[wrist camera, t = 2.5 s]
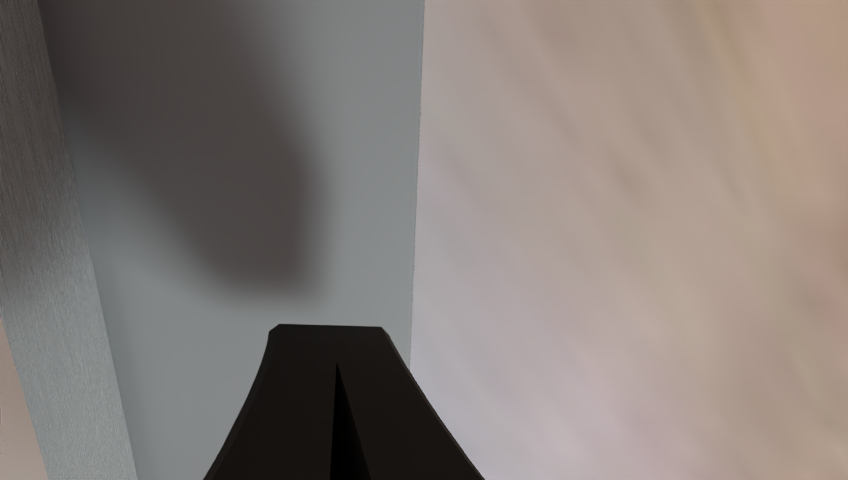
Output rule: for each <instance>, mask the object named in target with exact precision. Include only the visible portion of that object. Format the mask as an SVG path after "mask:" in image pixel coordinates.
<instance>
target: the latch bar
mask: <svg viewBox="0 0 848 480" xmlns="http://www.w3.org/2000/svg"><path fill="white" fill-rule="evenodd" d="M0 480H138V477H137V473H136V468H135V463H134V458H133V454H132V449H131V444H130V439H129V434H128V430H127V425H126V420H125V415H124V410H123V406H122V401H121V396H120V391H119V387H118V382H117V377H116V372H115V367H114V363H113V358H112V353H111V348H110V344H109V339H108V334H107V329H106V324H105V320H104V315H103V310H102V305H101V301H100V296H99V291H98V286H97V281H96V277H95V272H94V267H93V262H92V257H91V253H90V248H89V243H88V238H87V234H86V229H85V224H84V219H83V214H82V210H81V205H80V200H79V195H78V191H77V186H76V181H75V176H74V171H73V167H72V162H71V157H70V152H69V148H68V143H67V138H66V133H65V128H64V124H63V119H62V114H61V109H60V104H59V100H58V95H57V90H56V85H55V81H54V76H53V71H52V66H51V61H50V57H49V52H48V47H47V42H46V38H45V33H44V28H43V23H42V18H41V14H40V9H39V4H38V0H0Z"/></svg>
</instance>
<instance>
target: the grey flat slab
mask: <svg viewBox="0 0 848 480" xmlns="http://www.w3.org/2000/svg"><path fill="white" fill-rule="evenodd" d="M424 3H425V0H38V4H39V9H40V14H41V18H42V23H43V28H44V33H45V38H46V42H47V47H48V52H49V57H50V61H51V66H52V71H53V76H54V81H55V85H56V90H57V95H58V100H59V104H60V109H61V114H62V119H63V124H64V128H65V133H66V138H67V143H68V148H69V152H70V157H71V162H72V167H73V171H74V176H75V181H76V186H77V191H78V195H79V200H80V205H81V210H82V214H83V219H84V224H85V229H86V234H87V238H88V243H89V248H90V253H91V257H92V262H93V267H94V272H95V277H96V281H97V286H98V291H99V296H100V301H101V305H102V310H103V315H104V320H105V324H106V329H107V334H108V339H109V344H110V348H111V353H112V358H113V363H114V367H115V372H116V377H117V382H118V387H119V391H120V396H121V401H122V406H123V410H124V415H125V420H126V425H127V430H128V434H129V439H130V444H131V449H132V454H133V458H134V463H135V468H136V473H137V477H138V480H203V479H204V477H205V475H206V474H207V472H208V470H209V469H210V467H211V465H212V464H213V462H214V460H215V459H216V457H217V455H218V453H219V451H220V450H221V448H222V446H223V444H224V442H225V440H226V438H227V436H228V434H229V432H230V430H231V428H232V426H233V424H234V422H235V420H236V418H237V416H238V414H239V412H240V410H241V408H242V406H243V404H244V402H245V400H246V398H247V396H248V393H249V391H250V389H251V386H252V384H253V382H254V380H255V377H256V375H257V372H258V370H259V367H260V364H261V361H262V358H263V355H264V352H265V348H266V345H267V340H268V333H269V331H270V330H271V329H273V328H274V327H275V326H277V325H278V324H307V325H342V326H378V327H382V328H383V329H384V330H385V331H386V332H387V333H388V334H389V336H390V338H391V340H392V341H393V343H394V345H395V347H396V349H397V350H398V352H399V354H400V356H401V357H402V359H403V361H404V363H405V364H406V366H407V368H408V369H409V371H410V350H411V325H412V301H413V276H414V251H415V226H416V201H417V177H418V152H419V127H420V102H421V78H422V53H423V28H424Z"/></svg>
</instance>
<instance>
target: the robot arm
mask: <svg viewBox="0 0 848 480" xmlns="http://www.w3.org/2000/svg"><path fill="white" fill-rule="evenodd" d="M203 480H485V479H484V478H483V477H482V475H481V474H480V473H479V472H478V470H477V469H476V468H475V466H474V465H473V464H472V462H471V461H470V460H469V458H468V457H467V456H466V454H465V453H464V451H463V450H462V448H461V447H460V446H459V444H458V443H457V441H456V440H455V439H454V437H453V436H452V434H451V433H450V432H449V430H448V429H447V427H446V426H445V425H444V423H443V422H442V420H441V419H440V418H439V416H438V415H437V413H436V412H435V410H434V409H433V407H432V406H431V404H430V403H429V401H428V400H427V398H426V396H425V395H424V393H423V392H422V390H421V389H420V387H419V385H418V384H417V382H416V381H415V379H414V377H413V376H412V374H411V373H410V371H409V369H408V368H407V366H406V364H405V363H404V361H403V359H402V357H401V356H400V354H399V352H398V350H397V349H396V347H395V345H394V343H393V341H392V340H391V338H390V336H389V334H388V333H387V332H386V331H385V330H384V329H383V328H382V327H378V326H342V325H307V324H278V325H277V326H275V327H274V328H273V329H271V330H270V331H269V333H268V340H267V345H266V348H265V352H264V355H263V358H262V361H261V364H260V367H259V370H258V372H257V375H256V377H255V380H254V382H253V384H252V386H251V389H250V391H249V393H248V396H247V398H246V400H245V402H244V404H243V406H242V408H241V410H240V412H239V414H238V416H237V418H236V420H235V422H234V424H233V426H232V428H231V430H230V432H229V434H228V436H227V438H226V440H225V442H224V444H223V446H222V448H221V450H220V451H219V453H218V455H217V457H216V459H215V460H214V462H213V464H212V465H211V467H210V469H209V470H208V472H207V474H206V475H205V477H204V479H203Z"/></svg>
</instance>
